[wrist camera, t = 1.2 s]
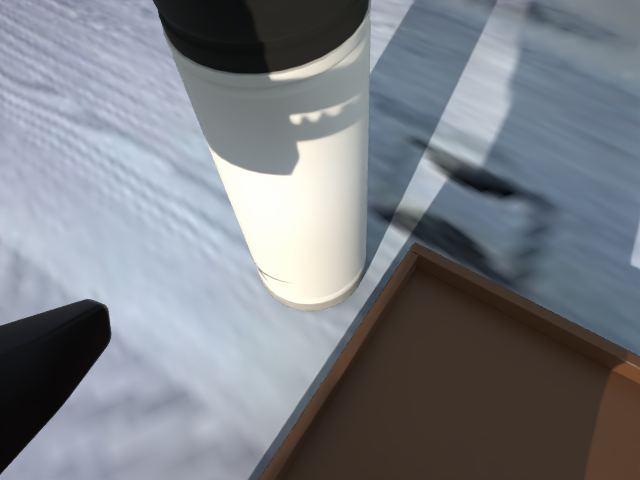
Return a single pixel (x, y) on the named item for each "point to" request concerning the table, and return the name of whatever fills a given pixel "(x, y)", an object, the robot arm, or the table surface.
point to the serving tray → (467, 390)
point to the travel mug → (285, 131)
